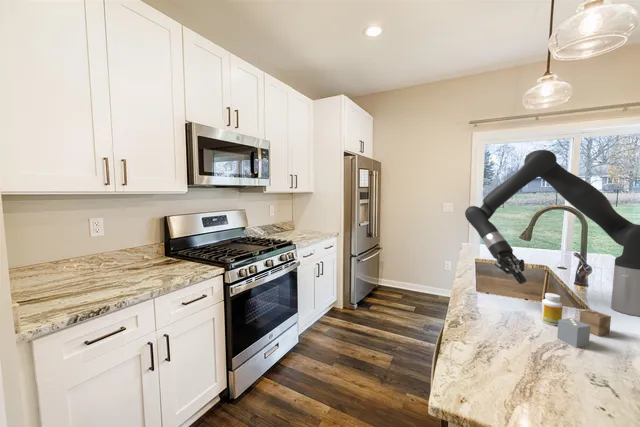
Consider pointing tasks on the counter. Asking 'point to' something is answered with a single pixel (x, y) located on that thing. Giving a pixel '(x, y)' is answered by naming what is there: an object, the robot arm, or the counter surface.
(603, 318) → the walnut two pip block
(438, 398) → the counter surface
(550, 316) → the supplement bottle
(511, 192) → the robot arm
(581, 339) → the slate three pip block
